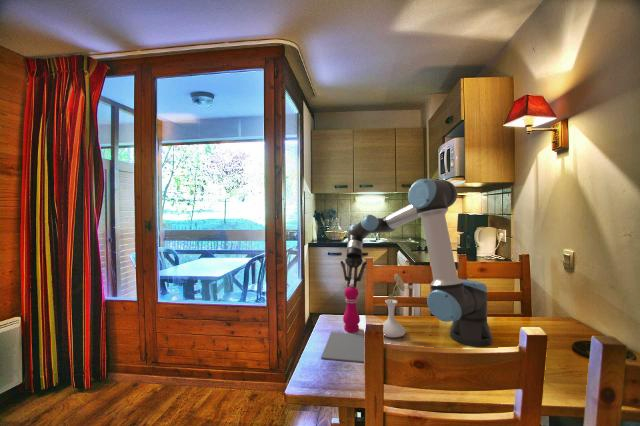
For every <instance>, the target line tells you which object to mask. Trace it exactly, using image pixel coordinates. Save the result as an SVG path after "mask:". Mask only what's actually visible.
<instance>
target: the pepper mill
mask: <svg viewBox="0 0 640 426" xmlns="http://www.w3.org/2000/svg"><path fill="white" fill-rule="evenodd" d="M349 286H350V287H348V286H347V287H346V288H345V290H344V294H343V295H344V296H345V302H346V308H345V311H344V313H343V318H342V321H343V323H344V325H343V330H344V331H345V332H347V333H356V332H358V331H359V329H360V325H359V324H360V322H361V318H360V314H359V312H358V309H357V302H358V296H359V289H358V288H357V287H356V288H355V287H353V284H352V283H350V284H349Z"/></svg>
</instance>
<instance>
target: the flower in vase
mask: <svg viewBox="0 0 640 426" xmlns="http://www.w3.org/2000/svg"><path fill="white" fill-rule="evenodd" d="M393 277H394V281H395V285H394V287H393V290H392V294H391V293H390V294H389V295H388V296H387V297H388V298H390V299H385V300H384V301H385V303H386V305H387V309H388V317H387V319H386V320H385V321H384V322H382V323H381V324H383V325H384V334H385V336H384V337H387V338H401V337H403V336H405V334H406V333H407V332H406V329H405V328H404V326H403V325H401V324H400V323H399V322H398V321H397V320H396V317H395V309H396V308H395V307H396V305H397V304H398V300H396V299H393V298H394V297H399V292H398V291H397V290H395V289H396V287H398V289H399V291H402V292H405V291H406V286H405V282H404V280H403V278H402V277H401V276H400V275H399V273H395V274H394V276H393Z"/></svg>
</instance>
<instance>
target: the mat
mask: <svg viewBox="0 0 640 426" xmlns="http://www.w3.org/2000/svg"><path fill="white" fill-rule="evenodd" d="M364 335H365V334H363V333H362V334H361V333H351V332H347V333H346V332H337V331H335V332H334V331H333V332H332V331H331V332H330V334H329V337H328V339H327V342H326V344H325V346H324V349H323V352H322V355H321V357H320V358H321V360H332V361H340V362H341V361H342V362H354V363H364ZM364 364H365V363H364Z"/></svg>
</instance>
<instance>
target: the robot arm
mask: <svg viewBox="0 0 640 426" xmlns="http://www.w3.org/2000/svg"><path fill="white" fill-rule="evenodd" d="M457 198H458V189H457V188H456V185H454V183H452V182H451V181H448V180H445V179H434V178H421V179H417V180H416V181H414V182H413V183H412V184H411V186H410V188H409V189H408V193H407V199H408V200H407V201H408V203H409V204H408V205H405V206H403V207H401V208H400V209H397V210H396V211H394V212H392V213H390V214H388V215H386V216H384V217H377V216H375V215H374V214H367V215H366V216H365V217H363V218H362V219H361V220H360V221H359V222H358V223H355V224H352V225H350V227H349V229H348V238H347V248H346V250H347V251H346V257H345V259H344V260H341V261H340V265H341V268H342V272H343V276H344V281H345V282H347V287H350V286H349V284H350V283H352V284H353V287H355V288H357V282H361V280H362V278H363V274H364V272H365V269H366V267H367V266H368V262H367V261H363V244H364V243H363V242H364V239H365V238H367V237H368V236H369V235H371V234H379V233H383V234H384V233H387V234H389V233H392V232H395V230H396V229H397V228H399V227H401V226H403V225H405V224H408V223H410V222H412V221H414V220H415V221H416V220H417V219H419V218H421V221H422V225H423V231H424V237H425V242H426V246H427V251H428V257H429V262H430V266H431V267H430V268H431V274H432V278H433V280H432V281H431V282H430V290H431V292H429V294H428V296H427V298H426V303H427V307H428V309H429V312H430V313H431V314H432V315H433V316H434V317H435V318H436V319H437V320H439V321H441V322H446V323H450V322H451V326H450V328H449V336H450V338H451V339H452V340H454V341H455V342H457V343H460V344H463V345H465V346H471V347H488V346H490V345H492V344H493V334H492V332H491V329H490V326H489V323H488V294H489V293H488V286H487V284H485V283H484V282H481V281H476V280H470V279H464V278H462V279H461V278H459V277H458V274H457V272H458V271H457V268H456V263H455V258H454V253H453V248H452V243H451V239H450V233H449V232H450V231H449V229H448V223H447V219H446V214H447V212H448V211H449V208H450V207H452V206H453V205H454V204H455V202H456V201H457ZM346 266H348V275H347V270H346ZM360 266H361V268H360V270H359V269H358V268H359V267H360ZM353 269H354V271H353ZM358 270H359V273H358ZM352 275H353V279H352Z"/></svg>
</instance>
